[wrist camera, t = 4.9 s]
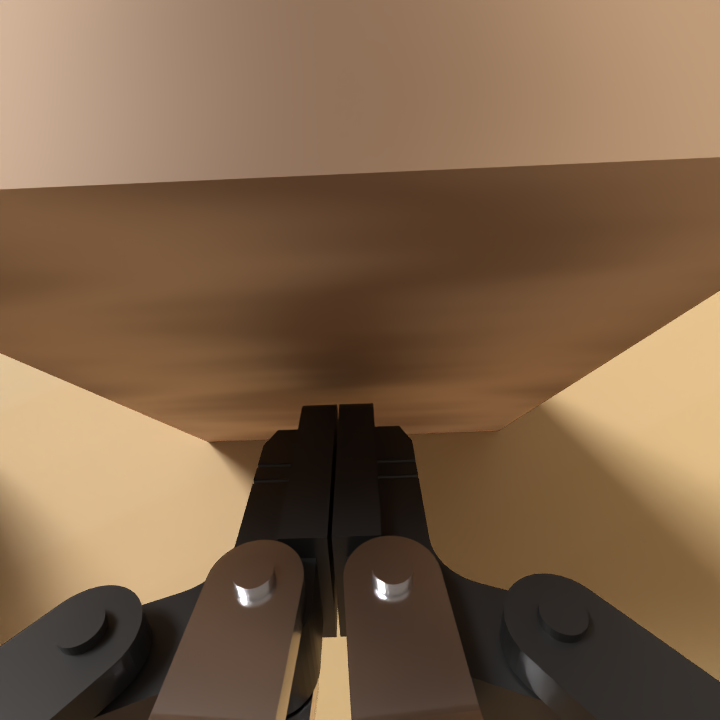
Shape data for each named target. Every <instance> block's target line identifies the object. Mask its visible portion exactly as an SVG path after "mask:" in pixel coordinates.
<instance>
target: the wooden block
mask: <svg viewBox="0 0 720 720" xmlns="http://www.w3.org/2000/svg"><path fill="white" fill-rule="evenodd" d="M718 291H720V0H0V353H1V354H4V355H6V356H8V357H11V358H13V359H15V360H18V361H20V362H22V363H25V364H27V365H29V366H32V367H34V368H36V369H39V370H41V371H43V372H46V373H48V374H50V375H53V376H55V377H57V378H60V379H62V380H64V381H67V382H69V383H72V384H74V385H76V386H79V387H81V388H83V389H86V390H88V391H90V392H93V393H95V394H97V395H100V396H102V397H104V398H107V399H109V400H111V401H114V402H116V403H118V404H121V405H123V406H125V407H128V408H130V409H132V410H135V411H137V412H139V413H142V414H144V415H146V416H149V417H151V418H153V419H156V420H158V421H160V422H163V423H165V424H167V425H170V426H172V427H174V428H177V429H179V430H181V431H184V432H186V433H189V434H191V435H193V436H196V437H198V438H200V439H203V440H205V441H207V442H215V441H241V440H267V439H270V438H271V437H272V436H273V435H274V434H275V433H276V432H277V431H278V430H294V429H298V426H299V421H300V415H301V410H302V406H306V405H335V404H337V408H338V419H339V405H340V404H360V403H373V407H374V423H375V427H378V426H400V427H401V428H402V430H403V431H404V432H405V433H406V434H423V433H449V432H475V431H499V430H501V429H502V428H504V427H505V426H507V425H509V424H510V423H512V422H513V421H515V420H516V419H518V418H520V417H521V416H523V415H524V414H526V413H527V412H529V411H531V410H532V409H534V408H535V407H537V406H539V405H540V404H542V403H543V402H545V401H546V400H548V399H550V398H551V397H553V396H554V395H556V394H557V393H559V392H561V391H562V390H564V389H565V388H567V387H568V386H570V385H572V384H573V383H575V382H576V381H578V380H580V379H581V378H583V377H584V376H586V375H587V374H589V373H591V372H592V371H594V370H595V369H597V368H598V367H600V366H602V365H603V364H605V363H606V362H608V361H609V360H611V359H613V358H614V357H616V356H617V355H619V354H621V353H622V352H624V351H625V350H627V349H628V348H630V347H632V346H633V345H635V344H636V343H638V342H639V341H641V340H643V339H644V338H646V337H647V336H649V335H651V334H652V333H654V332H655V331H657V330H658V329H660V328H662V327H663V326H665V325H666V324H668V323H669V322H671V321H673V320H674V319H676V318H677V317H679V316H680V315H682V314H684V313H685V312H687V311H688V310H690V309H692V308H693V307H695V306H696V305H698V304H699V303H701V302H703V301H704V300H706V299H707V298H709V297H710V296H712V295H714V294H715V293H717V292H718Z"/></svg>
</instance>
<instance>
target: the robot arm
mask: <svg viewBox="0 0 720 720" xmlns="http://www.w3.org/2000/svg"><path fill="white" fill-rule="evenodd" d="M337 610H338V614H339V625H340V636H341V637H342V636H347V651H348V668H349V685H350V702H351V719H352V720H720V682H719V681H718V680H716V679H715V678H714V677H712V676H711V675H709V674H708V673H707V672H705V671H704V670H702V669H701V668H699V667H698V666H697V665H695V664H694V663H692V662H691V661H690V660H688V659H687V658H685V657H684V656H683V655H681V654H680V653H678V652H677V651H675V650H674V649H673V648H671V647H670V646H668V645H667V644H666V643H664V642H663V641H661V640H660V639H658V638H657V637H656V636H654V635H653V634H651V633H650V632H649V631H647V630H646V629H644V628H643V627H641V626H640V625H639V624H637V623H636V622H634V621H633V620H632V619H630V618H629V617H627V616H626V615H625V614H623V613H622V612H620V611H619V610H617V609H616V608H615V607H613V606H612V605H610V604H609V603H608V602H606V601H605V600H603V599H602V598H600V597H599V596H598V595H596V594H595V593H593V592H592V591H591V590H589V589H588V588H586V587H584V586H583V585H581V584H579V583H577V582H575V581H573V580H571V579H568V578H565V577H562V576H558V575H553V574H534V575H530V576H526V577H524V578H522V579H520V580H518V581H517V582H516V583H514V584H513V586H512V587H511V588H510V589H509V591H507V590H503V589H499V588H495V587H492V586H488V585H484V584H480V583H477V582H474V581H471V580H468V579H466V578H464V577H462V576H459V575H458V574H456V573H455V572H453V571H452V570H450V569H449V568H448V567H447V566H445V565H444V564H443V563H442V561H441V560H440V559H439V558H438V557H437V555H436V554H435V552H434V550H433V548H432V546H431V543H430V540H429V535H428V529H427V523H426V518H425V512H424V506H423V501H422V495H421V489H420V484H419V478H418V472H417V467H416V462H415V455H414V450H413V444H412V440H411V439H410V438H409V437H408V436H407V434H406V433H405V432H404V431H403V430H402V428H401V427H400V426H378V427H375V423H374V407H373V403H360V404H340V405H339V419H338V408H337V404H335V405H306V406H302V410H301V415H300V421H299V426H298V429H294V430H278V431H277V432H276V433H275V434H274V435H273V436H272V437H271V438H270V439H269V440H268V442H267V443H266V444H265V445H264V446H263V450H262V453H261V457H260V460H259V464H258V468H257V471H256V474H255V478H254V484H253V485H252V488H251V492H250V495H249V499H248V502H247V506H246V509H245V513H244V516H243V520H242V523H241V527H240V530H239V534H238V537H237V541H236V544H235V547H234V548H233V549H232V550H230V551H229V552H227V553H226V554H225V555H223V556H222V557H221V558H220V559H219V560H218V561H217V562H216V563H215V565H214V566H213V567H212V569H211V570H210V572H209V574H208V576H207V578H206V581H205V582H203V583H202V584H200V585H198V586H196V587H194V588H192V589H190V590H187V591H184V592H182V593H178V594H175V595H172V596H169V597H166V598H163V599H160V600H157V601H154V602H150V603H147V604H144V605H141V602H140V600H139V598H138V597H137V595H136V594H135V593H134V592H132V591H131V590H129V589H127V588H125V587H121V586H114V585H107V586H100V587H96V588H92V589H88V590H86V591H83V592H81V593H79V594H77V595H75V596H73V597H71V598H69V599H67V600H66V601H64V602H63V603H61V604H60V605H58V606H57V607H55V608H54V609H53V610H51V611H50V612H48V613H47V614H45V615H44V616H43V617H41V618H40V619H38V620H37V621H36V622H34V623H33V624H31V625H30V626H28V627H27V628H26V629H24V630H23V631H21V632H20V633H19V634H17V635H16V636H14V637H13V638H11V639H10V640H9V641H7V642H6V643H4V644H3V645H2V646H0V720H315V714H316V706H317V699H318V690H319V682H318V679H319V674H320V664H321V649H322V637H337Z"/></svg>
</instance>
